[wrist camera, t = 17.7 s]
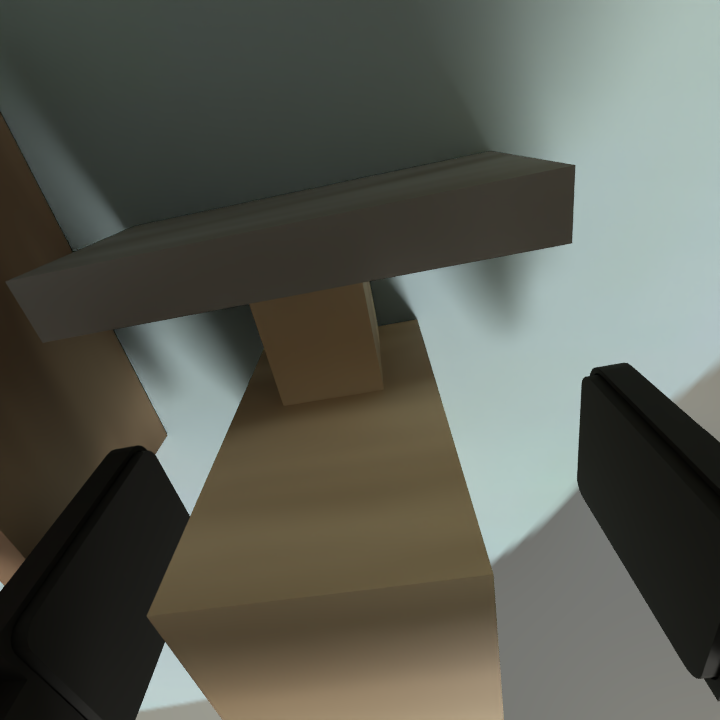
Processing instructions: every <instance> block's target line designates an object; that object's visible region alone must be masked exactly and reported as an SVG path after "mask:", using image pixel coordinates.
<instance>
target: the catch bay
mask: <svg viewBox="0 0 720 720" xmlns="http://www.w3.org/2000/svg"><path fill="white" fill-rule="evenodd" d="M71 253H73V252H72V250H71V248H70V246H69V244H68V242H67V240H66V238H65V237H64V235H63V233H62V231H61V229H60V227H59V225H58V223H57V221H56V219H55V217H54V215H53V213H52V211H51V209H50V208H49V206H48V204H47V202H46V200H45V198H44V196H43V194H42V192H41V190H40V188H39V186H38V184H37V182H36V180H35V179H34V177H33V175H32V173H31V171H30V169H29V167H28V165H27V163H26V161H25V159H24V157H23V155H22V153H21V152H20V150H19V148H18V146H17V144H16V142H15V140H14V138H13V136H12V134H11V132H10V130H9V128H8V126H7V124H6V123H5V121H4V119H3V117H2V115H1V113H0V581H1V582H2V583H3V585H4V586H5V585H6V584H7V582H8V581H9V580H10V578H11V577H12V576H13V575H14V573H15V572H16V571H17V570H18V568H19V567H20V566H21V564H22V563H23V562H24V561H25V559H26V558H27V557H28V555H29V554H30V553H31V552H32V550H33V549H34V548H35V546H36V545H37V544H38V543H39V541H40V540H41V539H42V537H43V536H44V535H45V534H46V532H47V531H48V530H49V528H50V527H51V526H52V525H53V523H54V522H55V521H56V519H57V518H58V517H59V516H60V514H61V513H62V512H63V511H64V509H65V508H66V507H67V505H68V504H69V503H70V502H71V500H72V499H73V498H74V496H75V495H76V494H77V493H78V491H79V490H80V489H81V487H82V486H83V485H84V484H85V482H86V481H87V480H88V478H89V477H90V476H91V475H92V473H93V472H94V471H95V469H96V468H97V467H98V466H99V464H100V463H101V462H102V461H103V459H104V458H105V457H106V455H107V454H108V453H109V452H110V451H112V450H114V449H119V448H125V447H131V446H137V445H140V446H143V447H145V448H146V449H147V450H148V451H152V452H153V453H154V454H156V453H157V451H158V449H159V448H160V446H161V445H162V443H163V441H164V440H165V438H166V437H167V434H166V432H165V430H164V428H163V426H162V424H161V422H160V420H159V418H158V416H157V414H156V412H155V410H154V408H153V407H152V405H151V403H150V401H149V399H148V397H147V395H146V393H145V391H144V389H143V387H142V385H141V383H140V381H139V379H138V378H137V376H136V374H135V372H134V370H133V368H132V366H131V364H130V362H129V360H128V358H127V356H126V354H125V352H124V351H123V349H122V347H121V345H120V343H119V341H118V339H117V337H116V335H115V333H114V331H113V330H108V331H103V332H97V333H92V334H87V335H82V336H76V337H71V338H66V339H60V340H55V341H50V342H44V343H42V341H41V339H40V338H39V336H38V335H37V333H36V331H35V330H34V328H33V326H32V325H31V323H30V321H29V320H28V318H27V317H26V315H25V313H24V312H23V310H22V308H21V307H20V305H19V304H18V302H17V300H16V299H15V297H14V295H13V294H12V292H11V291H10V289H9V287H8V286H7V284H6V281H8V280H10V279H13V278H15V277H17V276H20V275H22V274H24V273H27V272H29V271H31V270H33V269H36V268H38V267H40V266H43V265H45V264H47V263H50V262H52V261H54V260H57V259H59V258H61V257H64V256H66V255H68V254H71Z"/></svg>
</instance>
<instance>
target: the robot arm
mask: <svg viewBox="0 0 720 720" xmlns="http://www.w3.org/2000/svg"><path fill="white" fill-rule="evenodd" d="M577 481H578V486H579V490H580V492H581V495H582V496H583V498H584V500H585V502H586V503H587V505H588V507H589V508H590V510H591V512H592V513H593V515H594V516H595V518H596V520H597V521H598V523H599V525H600V526H601V528H602V530H603V531H604V533H605V535H606V536H607V538H608V540H609V541H610V543H611V545H612V546H613V548H614V550H615V551H616V553H617V554H618V556H619V558H620V560H621V561H622V563H623V564H624V566H625V568H626V569H627V571H628V573H629V574H630V576H631V578H632V579H633V581H634V583H635V584H636V586H637V588H638V589H639V591H640V593H641V594H642V596H643V598H644V599H645V601H646V603H647V604H648V606H649V607H650V609H651V611H652V613H653V614H654V616H655V618H656V619H657V621H658V622H659V624H660V626H661V627H662V629H663V631H664V632H665V634H666V636H667V637H668V639H669V640H670V642H671V644H672V646H673V647H674V649H675V651H676V652H677V654H678V656H679V657H680V659H681V660H682V662H683V664H684V665H685V667H686V668H687V670H688V671H689V672H690V673H691V674H692V675H693V676H694V677H695V678H698V679H701V678H704V679H705V681H706V682H707V684H708V686H709V687H710V689H711V690H712V692H713V694H714V695H715V697H716V699H717V700H718V701H720V442H719V441H717V440H716V439H715V438H714V437H713V436H712V435H711V434H709V433H708V432H707V431H706V430H705V429H703V428H702V427H701V426H700V425H698V424H697V423H696V422H695V421H694V420H693V419H692V418H691V417H689V416H688V415H687V414H686V413H685V412H683V411H682V410H681V409H680V408H679V407H678V406H677V405H676V404H675V403H673V402H672V401H671V400H670V399H669V398H668V397H667V396H665V395H664V394H663V393H662V392H661V391H660V390H659V389H657V388H656V387H655V386H654V385H653V384H652V383H651V382H649V381H648V380H647V379H646V378H645V377H644V376H642V375H641V374H640V373H639V372H638V371H637V370H636V369H634V368H633V367H632V366H631V365H629V364H628V363H620V364H614V365H608V366H602V367H596V368H594V369H592V371H591V373H590V376H588V377H584V378H583V380H582V389H581V409H580V430H579V450H578V471H577ZM189 518H190V516H189V514H188V512H187V510H186V508H185V507H184V505H183V503H182V501H181V500H180V498H179V496H178V494H177V493H176V491H175V489H174V487H173V485H172V484H171V482H170V480H169V478H168V477H167V475H166V473H165V471H164V469H163V468H162V466H161V464H160V462H159V461H158V459H157V457H156V455H155V454H154V453H153V452H152V451H148V450H147V449H146V448H145V447H143V446H140V445H137V446H131V447H125V448H119V449H114V450H112V451H110V452H109V453H108V454H107V455H106V457H105V458H104V459H103V461H102V462H101V463H100V464H99V466H98V467H97V468H96V469H95V471H94V472H93V473H92V475H91V476H90V477H89V478H88V480H87V481H86V482H85V484H84V485H83V486H82V487H81V489H80V490H79V491H78V493H77V494H76V495H75V496H74V498H73V499H72V500H71V502H70V503H69V504H68V505H67V507H66V508H65V509H64V511H63V512H62V513H61V514H60V516H59V517H58V518H57V519H56V521H55V522H54V523H53V525H52V526H51V527H50V528H49V530H48V531H47V532H46V534H45V535H44V536H43V537H42V539H41V540H40V541H39V543H38V544H37V545H36V546H35V548H34V549H33V550H32V552H31V553H30V554H29V555H28V557H27V558H26V559H25V561H24V562H23V563H22V564H21V566H20V567H19V568H18V570H17V571H16V572H15V573H14V575H13V576H12V577H11V578H10V580H9V581H8V582H7V584H6V585H5V586H4V587H3V589H2V590H1V591H0V720H135V719H136V717H137V714H138V711H139V709H140V706H141V704H142V701H143V698H144V696H145V693H146V690H147V688H148V685H149V683H150V680H151V677H152V675H153V672H154V669H155V667H156V664H157V662H158V659H159V656H160V654H161V651H162V649H163V646H164V643H165V641H164V639H163V638H162V637H161V635H160V634H159V633H158V631H157V630H156V629H155V627H154V626H153V624H152V623H151V622H150V620H149V619H148V618H147V614H148V612H149V609H150V607H151V605H152V603H153V600H154V598H155V596H156V593H157V591H158V589H159V587H160V584H161V582H162V580H163V577H164V575H165V573H166V571H167V568H168V566H169V564H170V562H171V559H172V557H173V555H174V552H175V550H176V548H177V546H178V543H179V541H180V539H181V536H182V534H183V532H184V530H185V527H186V525H187V523H188V520H189Z"/></svg>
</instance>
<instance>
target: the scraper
mask: <svg viewBox="0 0 720 720" xmlns="http://www.w3.org/2000/svg"><path fill="white" fill-rule="evenodd" d="M574 183H575V165H571V164H565V163H559V162H553V161H547V160H542V159H536V158H530V157H524V156H518V155H512V154H506V153H500V152H494V151H488V152H483V153H478V154H473V155H469V156H464V157H459V158H454V159H450V160H445V161H440V162H436V163H431V164H426V165H421V166H417V167H412V168H407V169H402V170H398V171H393V172H388V173H383V174H379V175H374V176H369V177H364V178H360V179H355V180H350V181H346V182H341V183H336V184H331V185H327V186H322V187H317V188H312V189H308V190H303V191H298V192H293V193H289V194H284V195H279V196H274V197H270V198H265V199H260V200H256V201H251V202H246V203H241V204H237V205H232V206H227V207H222V208H218V209H213V210H208V211H203V212H199V213H194V214H189V215H184V216H180V217H175V218H170V219H166V220H161V221H156V222H151V223H147V224H142V225H137V226H133V227H131V228H129V229H126V230H124V231H122V232H119V233H117V234H115V235H113V236H110V237H108V238H106V239H103V240H101V241H99V242H96V243H94V244H92V245H89V246H87V247H85V248H82V249H80V250H78V251H75V252H73V253H71V254H68V255H66V256H64V257H61V258H59V259H57V260H54V261H52V262H50V263H47V264H45V265H43V266H40V267H38V268H36V269H33V270H31V271H29V272H27V273H24V274H22V275H20V276H17V277H15V278H13V279H10V280H8V281H6V284H7V286H8V287H9V289H10V291H11V292H12V294H13V295H14V297H15V299H16V300H17V302H18V304H19V305H20V307H21V308H22V310H23V312H24V313H25V315H26V317H27V318H28V320H29V321H30V323H31V325H32V326H33V328H34V330H35V331H36V333H37V335H38V336H39V338H40V339H41V341H42V343H44V342H50V341H55V340H60V339H66V338H71V337H76V336H82V335H87V334H92V333H97V332H103V331H108V330H113V329H119V328H124V327H129V326H135V325H140V324H145V323H151V322H156V321H161V320H167V319H172V318H177V317H183V316H188V315H193V314H198V313H204V312H209V311H214V310H220V309H225V308H230V307H236V306H241V305H246V304H249V306H250V308H251V311H252V314H253V317H254V320H255V323H256V326H257V329H258V332H259V335H260V338H261V341H262V344H263V347H264V349H263V352H262V354H261V356H260V359H259V361H258V363H257V365H256V368H255V370H254V372H253V375H252V377H251V379H250V381H249V384H248V386H247V388H246V391H245V393H244V395H243V397H242V400H241V402H240V404H239V406H238V409H237V411H236V413H235V416H234V418H233V420H232V422H231V425H230V427H229V429H228V432H227V434H226V436H225V438H224V441H223V443H222V445H221V448H220V450H219V452H218V454H217V457H216V459H215V461H214V463H213V466H212V468H211V470H210V473H209V475H208V477H207V479H206V482H205V484H204V486H203V489H202V491H201V493H200V495H199V498H198V500H197V502H196V505H195V507H194V509H193V511H192V514H191V516H190V518H189V520H188V523H187V525H186V527H185V530H184V532H183V534H182V536H181V539H180V541H179V543H178V546H177V548H176V550H175V552H174V555H173V557H172V559H171V562H170V564H169V566H168V568H167V571H166V573H165V575H164V577H163V580H162V582H161V584H160V587H159V589H158V591H157V593H156V596H155V598H154V600H153V603H152V605H151V607H150V609H149V612H148V614H147V618H148V619H149V620H150V622H151V623H152V624H153V626H154V627H155V629H156V630H157V631H158V633H159V634H160V635H161V637H162V638H163V639H164V641H165V642H166V644H167V645H168V646H169V648H170V649H171V650H172V652H173V653H174V654H175V656H176V657H177V658H178V660H179V661H180V663H181V664H182V665H183V667H184V668H185V669H186V671H187V672H188V673H189V675H190V676H191V678H192V679H193V680H194V682H195V683H196V684H197V686H198V687H199V688H200V690H201V691H202V693H203V694H204V695H205V697H206V698H207V699H208V701H209V702H210V703H211V705H212V706H213V707H214V709H215V710H216V712H217V713H218V714H219V715H220V717H221V718H222V720H504V716H503V702H502V689H501V675H500V660H499V646H498V633H497V618H496V604H495V590H494V576H493V571H492V568H491V565H490V561H489V558H488V555H487V551H486V548H485V545H484V541H483V538H482V535H481V531H480V528H479V525H478V521H477V518H476V515H475V511H474V508H473V505H472V501H471V498H470V495H469V491H468V488H467V484H466V481H465V478H464V474H463V471H462V468H461V464H460V461H459V458H458V454H457V451H456V448H455V444H454V441H453V438H452V434H451V431H450V428H449V424H448V421H447V418H446V414H445V411H444V408H443V404H442V401H441V397H440V394H439V391H438V387H437V384H436V381H435V377H434V374H433V371H432V367H431V364H430V361H429V357H428V354H427V351H426V347H425V344H424V341H423V337H422V334H421V331H420V327H419V324H418V321H417V319H416V320H410V321H405V322H399V323H393V324H388V325H382V326H378V323H377V318H376V313H375V307H374V302H373V297H372V292H371V286H370V281H374V280H379V279H385V278H390V277H395V276H400V275H406V274H411V273H416V272H422V271H427V270H432V269H438V268H443V267H448V266H454V265H459V264H464V263H470V262H475V261H480V260H486V259H491V258H496V257H501V256H507V255H512V254H517V253H523V252H528V251H533V250H539V249H544V248H549V247H555V246H560V245H565V244H571V243H572V230H573V206H574Z"/></svg>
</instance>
